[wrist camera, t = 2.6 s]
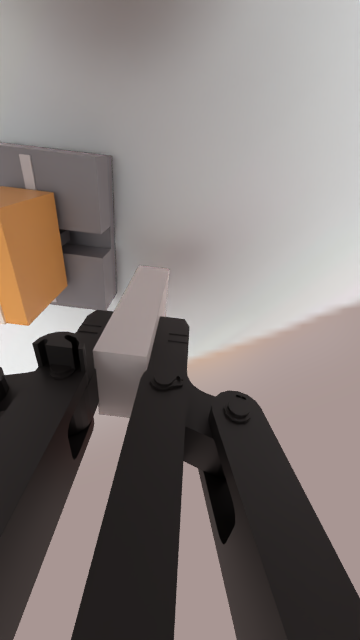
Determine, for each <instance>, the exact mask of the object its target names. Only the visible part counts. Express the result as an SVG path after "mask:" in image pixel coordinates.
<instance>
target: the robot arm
mask: <svg viewBox="0 0 360 640" xmlns="http://www.w3.org/2000/svg"><path fill="white" fill-rule="evenodd" d="M169 270H170V269H167V268H159V267H151V266H142V265H139V266H138V268H137V270H136V272H135V274H134V275H133V277H132V279H131V281H130V283H129V285H128V286H127V288H126V290H125V292H124V294H123V296H122V297H121V299H120V301H119V303H118V305H117V307H116V308H115V310H114V312H112V311H103V310H96V311H95V312H93V313H91V314H90V315H88V316H87V317H86V319H85V320H84V322H83V323H82V325H81V326H80V327H79V329H78V331H77V332H76V333H71V332H55V333H50V334H47V335H45V336H43V337H40V338H39V339H37V340H36V341H35V342H34V343H32V344H33V347H34V351H35V355H36V359H37V363H38V368H37V369H36V371H34V372H28V373H20V374H12V375H4V373H3V370H2V368H1V367H0V640H13V639H14V636H15V633H16V631H17V628H18V625H19V623H20V620H21V618H22V615H23V612H24V610H25V607H26V604H27V602H28V599H29V596H30V594H31V591H32V588H33V586H34V583H35V581H36V578H37V576H38V573H39V570H40V568H41V565H42V562H43V560H44V557H45V555H46V552H47V549H48V547H49V544H50V542H51V539H52V536H53V534H54V531H55V528H56V526H57V523H58V521H59V518H60V515H61V513H62V510H63V508H64V505H65V502H66V499H67V497H68V494H69V492H70V489H71V486H72V484H73V481H74V479H75V476H76V474H77V471H78V468H79V466H80V463H81V460H82V458H83V455H84V453H85V450H86V447H87V445H88V442H89V439H90V437H91V434H92V431H93V427H94V418H93V416H94V413H95V411H96V408H97V406H98V407H99V414H102V415H110V416H120V417H127V418H130V420H129V423H128V427H127V431H126V435H125V438H124V442H123V446H122V450H121V453H120V457H119V461H118V465H117V469H116V472H115V476H114V480H113V484H112V488H111V491H110V495H109V499H108V503H107V506H106V510H105V514H104V517H103V521H102V525H101V529H100V532H99V536H98V540H97V544H96V547H95V551H94V555H93V559H92V562H91V567H90V570H89V574H88V578H87V581H86V585H85V589H84V593H83V596H82V601H81V604H80V608H79V612H78V615H77V619H76V623H75V626H74V630H73V634H72V638H71V640H174V625H175V624H174V623H175V605H176V587H177V586H176V585H177V568H178V551H179V532H180V512H181V495H182V476H183V461H185V462H187V463H189V464H191V465H193V466H195V467H197V468H198V470H199V474H200V479H201V483H202V488H203V492H204V496H205V501H206V505H207V510H208V514H209V519H210V523H211V527H212V532H213V536H214V540H215V545H216V549H217V554H218V558H219V563H220V567H221V571H222V576H223V580H224V585H225V589H226V593H227V598H228V602H229V607H230V611H231V615H232V620H233V624H234V629H235V633H236V638H237V640H360V598H359V596H358V594H357V592H356V590H355V589H354V586H353V584H352V583H351V581H350V579H349V577H348V575H347V573H346V571H345V569H344V567H343V565H342V563H341V562H340V559H339V558H338V556H337V554H336V552H335V550H334V548H333V546H332V544H331V542H330V540H329V538H328V536H327V534H326V532H325V531H324V529H323V527H322V525H321V523H320V521H319V519H318V517H317V515H316V513H315V511H314V510H313V508H312V506H311V504H310V502H309V500H308V498H307V496H306V494H305V492H304V490H303V488H302V486H301V484H300V482H299V480H298V479H297V477H296V475H295V473H294V471H293V469H292V468H291V465H290V463H289V461H288V459H287V457H286V456H285V453H284V452H283V450H282V448H281V446H280V444H279V442H278V440H277V438H276V436H275V434H274V432H273V430H272V428H271V427H270V425H269V423H268V421H267V419H266V417H265V415H264V413H263V411H262V409H261V408H260V406H259V405H258V404H257V402H256V401H255V400H253V399H252V398H251V397H249V396H248V395H246V394H243V393H241V392H238V391H225V392H221V393H220V394H219V395H217V396H216V397H214V396H212V395H209V394H206V393H204V392H202V391H201V390H199V389H197V388H196V387H195V386H193V384H192V383H191V382H190V381H189V378H188V376H187V359H188V341H189V326H188V324H187V323H186V321H185V319H178V318H169V317H165V316H166V305H167V293H168V282H169Z"/></svg>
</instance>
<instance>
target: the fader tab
mask: <svg viewBox="0 0 360 640" xmlns="http://www.w3.org/2000/svg"><path fill="white" fill-rule="evenodd" d="M69 241H70V233H69V230H63V229H59V225H58V219H57V212H56V205H55V199H54V192H46V191H38V190H30V189H21V188H13V187H5V186H0V324H6V323H11V324H19V325H27V326H29V325H30V324H31V323H32V322H33V321H34V320H35V319H36V318H37V317H38V315H39V314H40V313H41V312H42V311H43V310H44V309H45V308H46V307H47V306H48V305H49V304H50V303H51V302H52V301H53V300H54V299H55V298H56V297H57V296H58V295H59V294H60V293H61V292H62V291H63V290H64V289H65V288H66V287H67V286H68V285H67V278H66V272H65V265H64V258H63V252H62V246H63V245H64V244H66V243H67V242H69Z"/></svg>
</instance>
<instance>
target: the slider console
mask: <svg viewBox="0 0 360 640" xmlns="http://www.w3.org/2000/svg"><path fill="white" fill-rule="evenodd" d="M0 186H5V187H13V188H21V189H30V190H38V191H46V192H54V199H55V205H56V212H57V219H58V225H59V229H63V230H69V233H70V241H69V242H67V243H66V244H64V245H63V246H62V252H63V258H64V265H65V272H66V278H67V285H68V286H67V287H66V288H65V289H64V290H63V291H62V292H61V293H60V294H59V295H58V296H57V297H56V298H55V299H54V300H53V301H52V302H51V303H50V304H52V305H61V306H69V307H77V308H85V309H93V310H103V311H106V310H107V309H108V307H109V305H110V303H111V302H112V300H113V298H114V297H115V295H116V293H117V288H116V261H115V234H114V206H113V179H112V156H108V155H100V154H92V153H83V152H75V151H67V150H59V149H51V148H43V147H35V146H26V145H18V144H10V143H2V142H0Z"/></svg>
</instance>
